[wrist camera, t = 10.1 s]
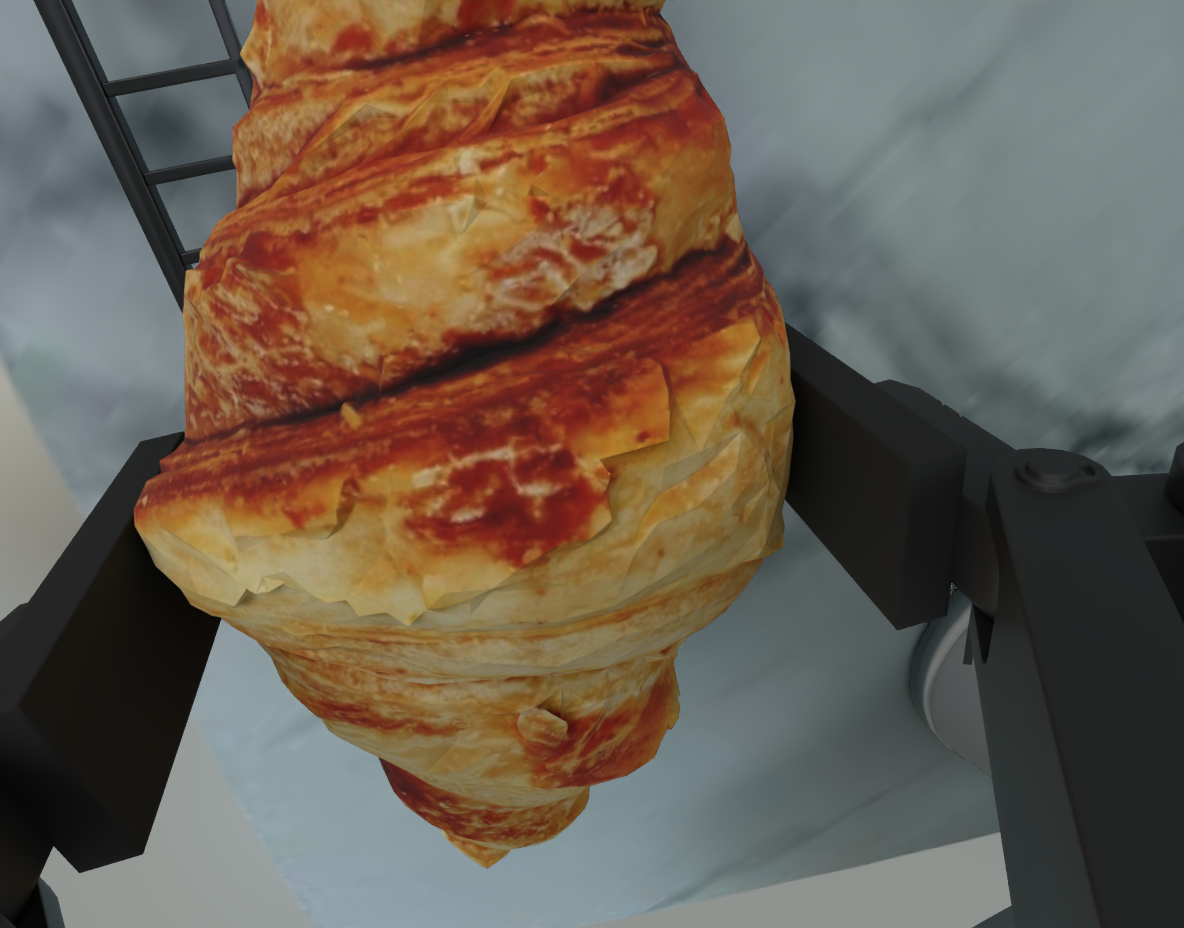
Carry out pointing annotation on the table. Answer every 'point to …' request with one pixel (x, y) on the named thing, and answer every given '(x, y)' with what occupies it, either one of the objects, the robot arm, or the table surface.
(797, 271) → the table surface
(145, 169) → the cooling rack
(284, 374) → the croissant
